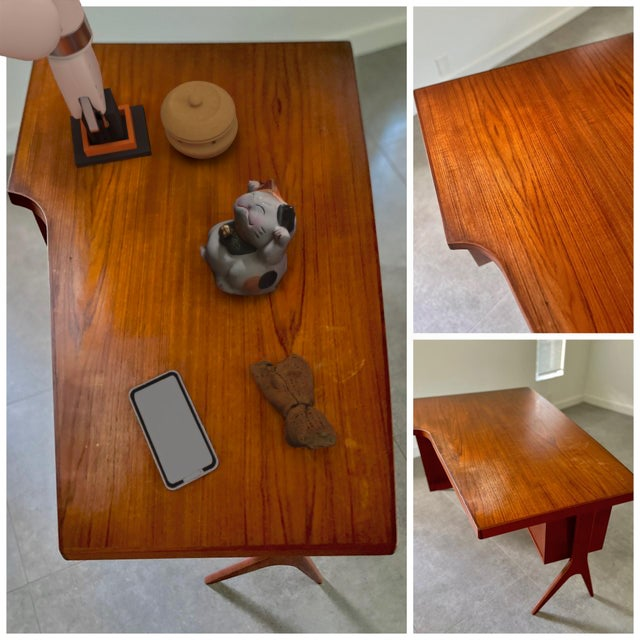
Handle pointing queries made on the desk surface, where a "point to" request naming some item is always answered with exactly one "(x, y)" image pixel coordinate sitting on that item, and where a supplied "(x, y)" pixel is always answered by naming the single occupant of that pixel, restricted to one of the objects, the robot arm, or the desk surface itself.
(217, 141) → the pot
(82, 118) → the dark grey cube
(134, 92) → the desk surface
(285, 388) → the sculpture
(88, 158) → the base pad
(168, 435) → the smartphone
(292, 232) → the lucky cat figurine
